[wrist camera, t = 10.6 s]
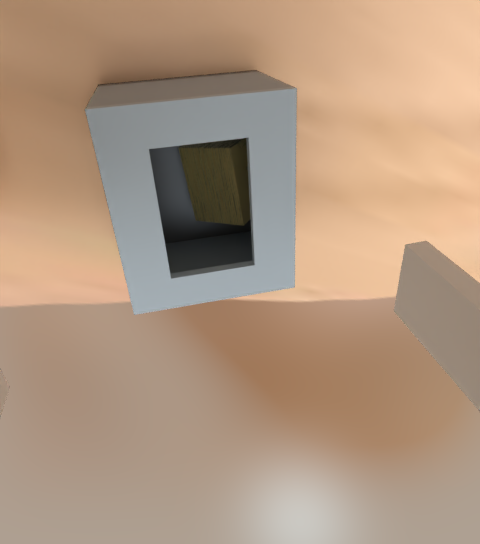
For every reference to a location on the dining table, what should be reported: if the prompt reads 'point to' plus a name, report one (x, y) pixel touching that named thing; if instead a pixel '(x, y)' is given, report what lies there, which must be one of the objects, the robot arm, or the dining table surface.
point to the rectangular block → (218, 180)
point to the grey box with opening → (174, 191)
